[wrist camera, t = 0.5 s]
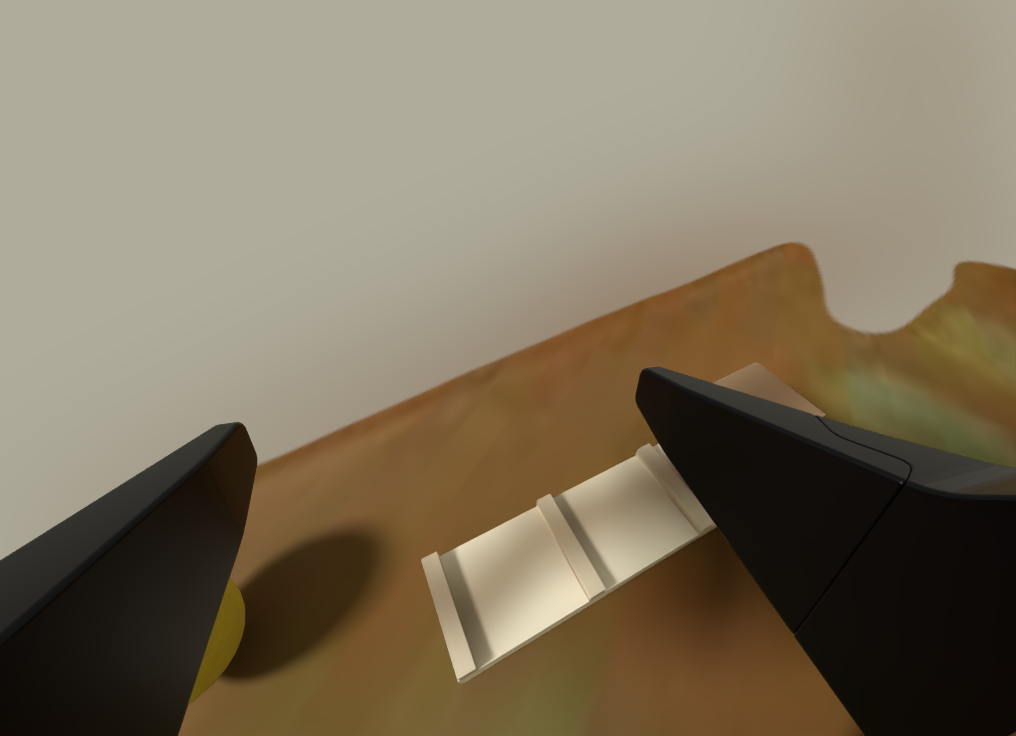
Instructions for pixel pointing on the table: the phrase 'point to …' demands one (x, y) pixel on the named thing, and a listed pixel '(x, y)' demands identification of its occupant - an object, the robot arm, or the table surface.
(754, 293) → the table surface
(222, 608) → the lemon
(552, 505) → the rail
